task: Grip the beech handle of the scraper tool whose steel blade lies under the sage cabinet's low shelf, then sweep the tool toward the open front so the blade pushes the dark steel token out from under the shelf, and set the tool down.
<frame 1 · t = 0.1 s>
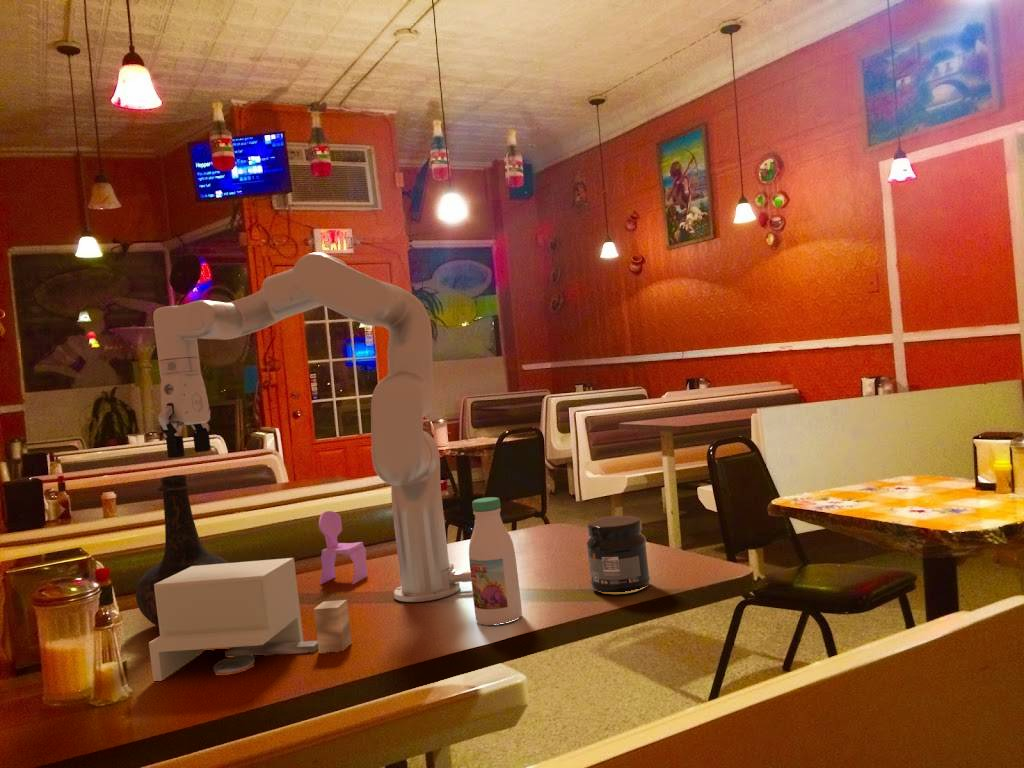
hand: (190, 454, 159), 31 cm above the table, tool pointing down, fingers open, 9 cm apart
milk bottle: (499, 620, 132), on the table
tool: (335, 648, 127), on the table
cabinet: (231, 661, 126), on the table
glass bottle: (192, 623, 152), on the table
token: (234, 670, 123), on the table
supplement container: (621, 589, 142), on the table
toy chair: (344, 581, 171), on the table
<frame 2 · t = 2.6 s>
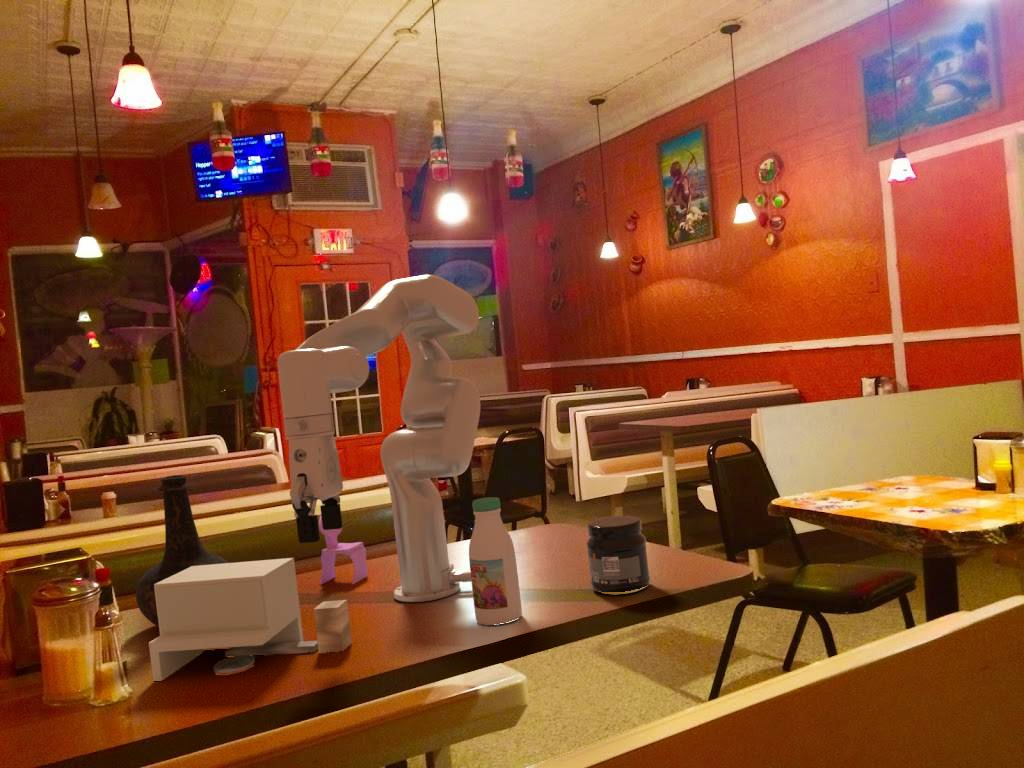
hand: (321, 535, 127), 18 cm above the table, tool pointing down, fingers open, 9 cm apart
nothing on the table moved.
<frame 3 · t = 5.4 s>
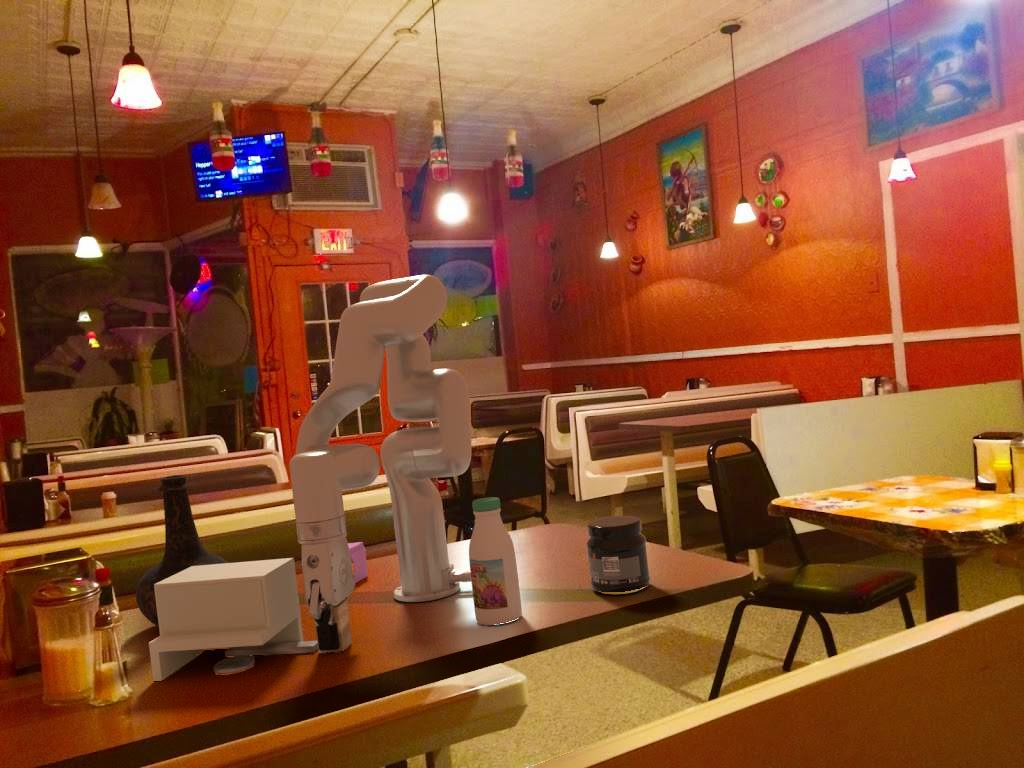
hand: (334, 643, 127), 1 cm above the table, tool pointing down, fingers closed on tool, 4 cm apart
tool: (335, 648, 127), on the table, touching gripper
everything else where it was.
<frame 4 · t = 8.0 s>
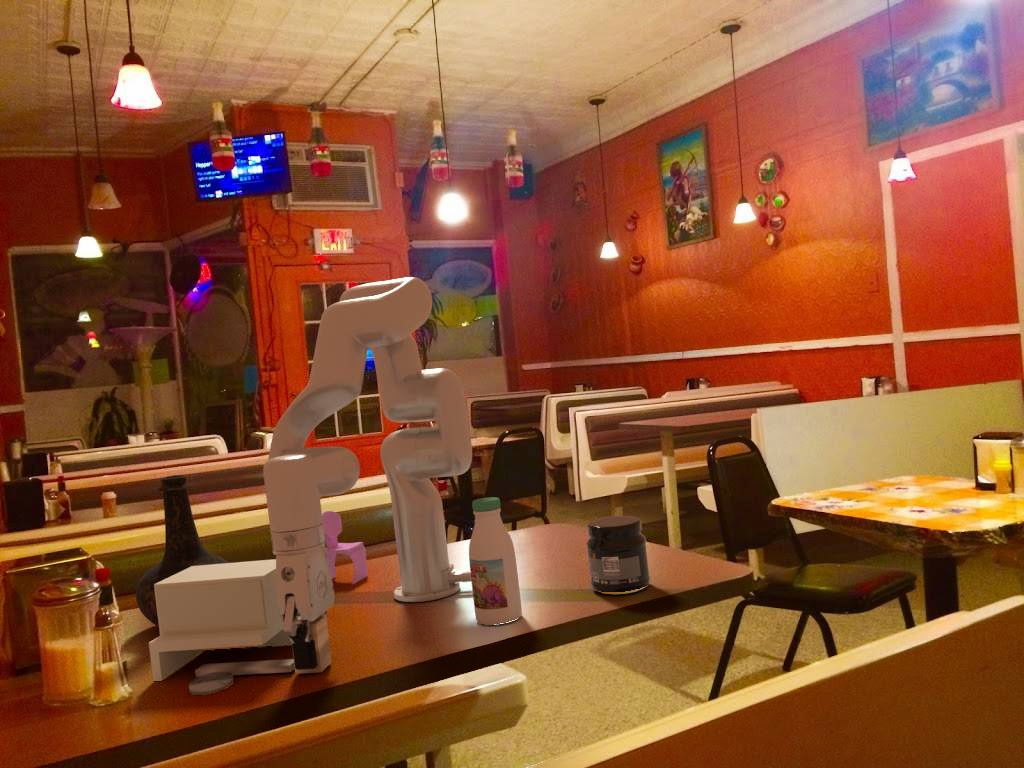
hand: (312, 660, 118), 1 cm above the table, tool pointing down, fingers closed on tool, 4 cm apart
tool: (313, 667, 118), on the table, touching gripper
token: (212, 687, 116), on the table
everything else where it was.
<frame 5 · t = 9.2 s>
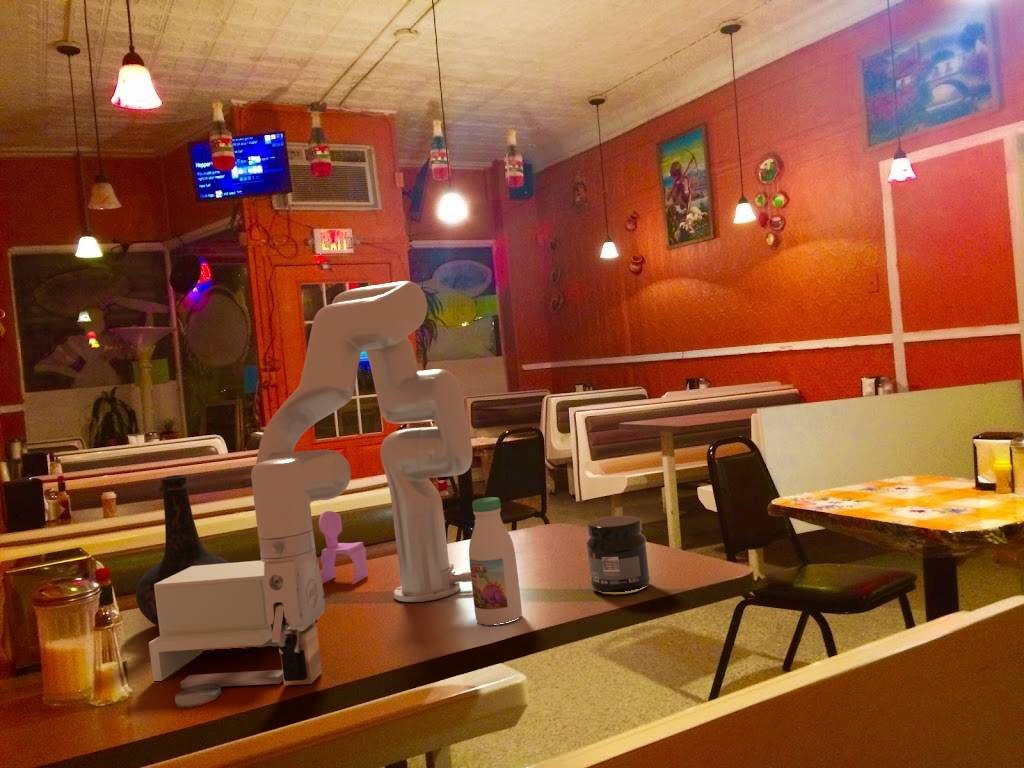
hand: (302, 671, 114), 1 cm above the table, tool pointing down, fingers closed on tool, 4 cm apart
tool: (303, 678, 114), on the table, touching gripper
token: (199, 700, 112), on the table
everything else where it was.
when the fingers open (1 cm above the table, at t = 10.3 s): tool stays where it is, on the table.
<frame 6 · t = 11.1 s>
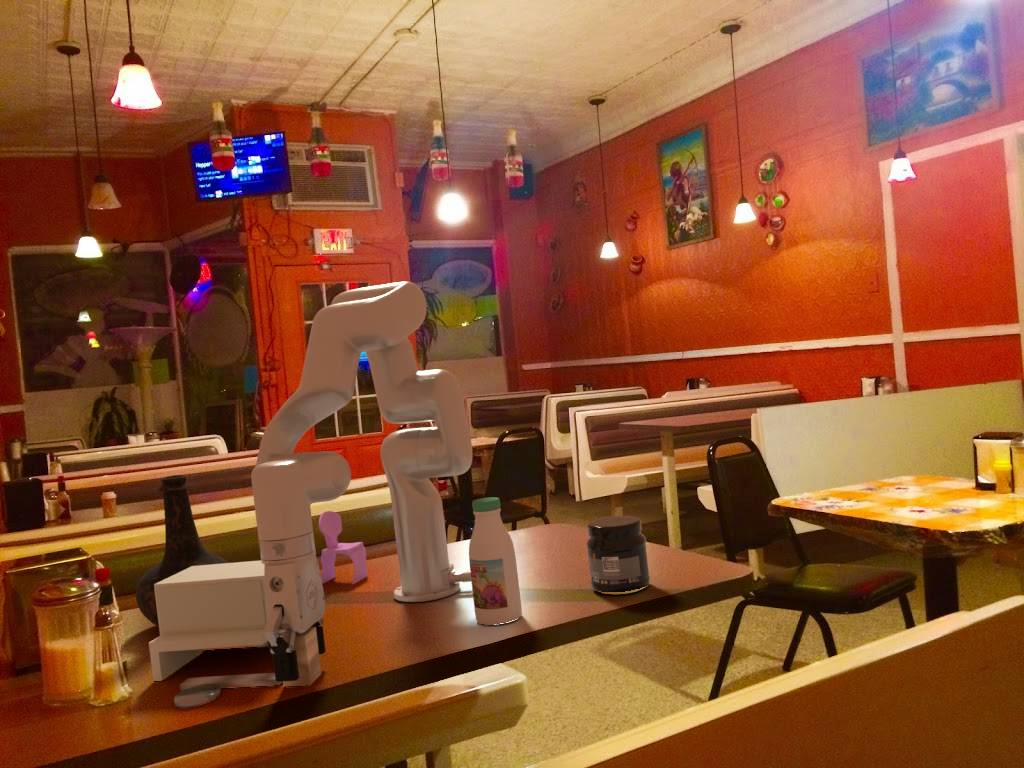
hand: (301, 666, 114), 2 cm above the table, tool pointing down, fingers open, 9 cm apart
tool: (302, 681, 114), on the table
everything else where it was.
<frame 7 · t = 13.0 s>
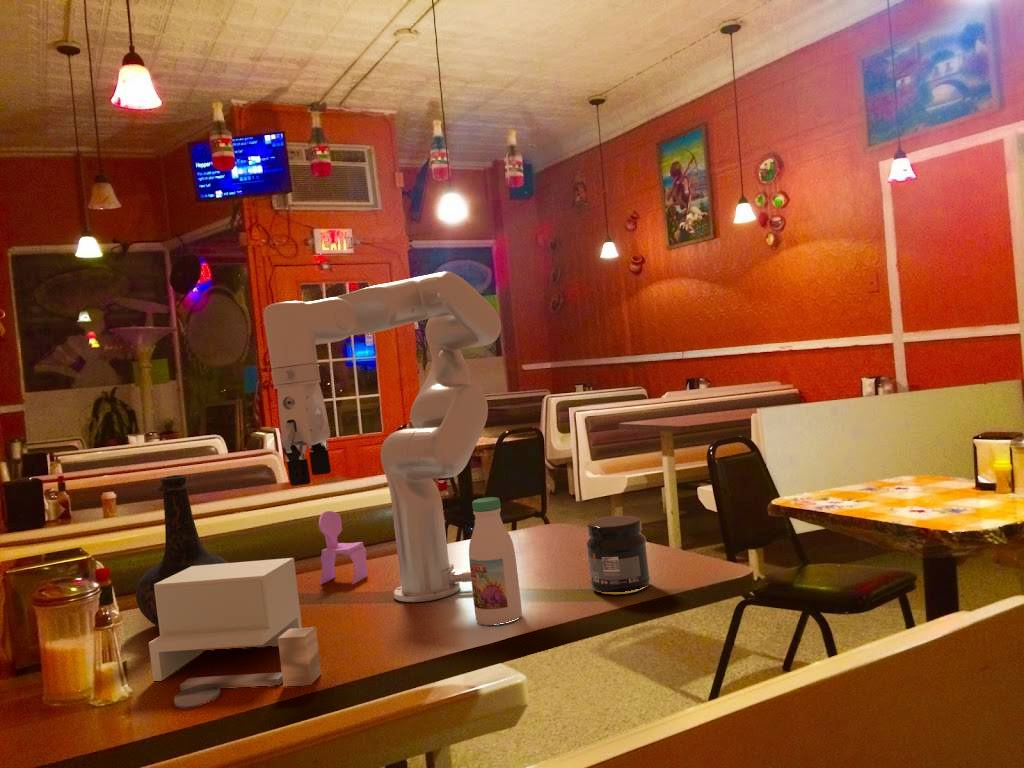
hand: (311, 479, 133), 26 cm above the table, tool pointing down, fingers open, 9 cm apart
nothing on the table moved.
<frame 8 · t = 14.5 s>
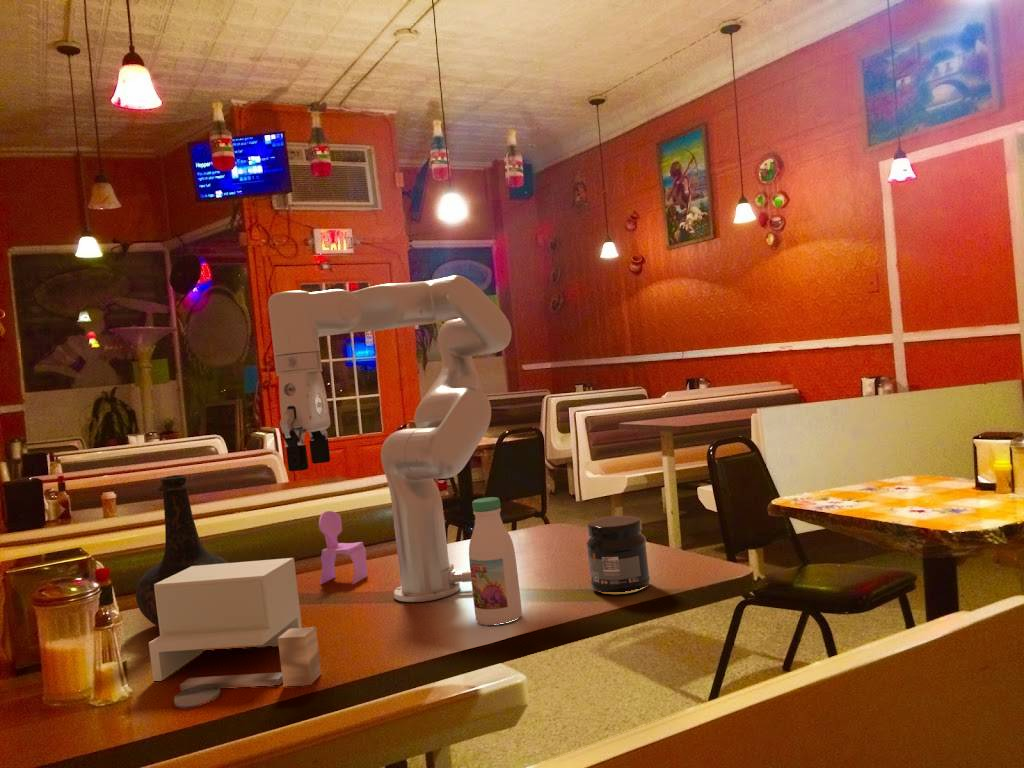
hand: (310, 466, 135), 28 cm above the table, tool pointing down, fingers open, 9 cm apart
nothing on the table moved.
at the end: token inside the target area (3.4 cm from its centre), on the table; token touching table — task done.
